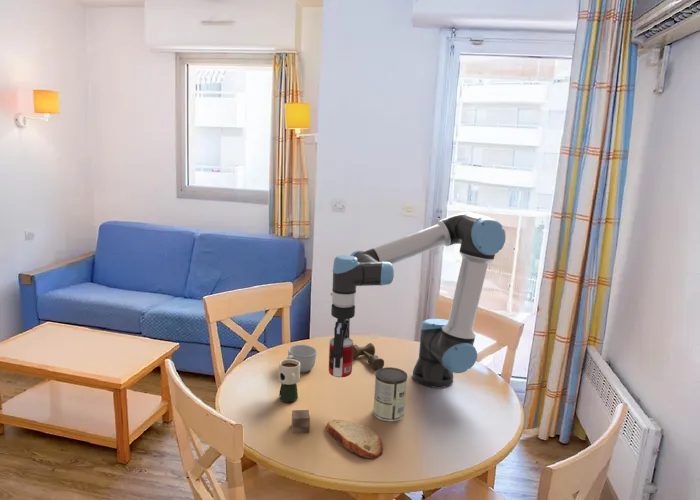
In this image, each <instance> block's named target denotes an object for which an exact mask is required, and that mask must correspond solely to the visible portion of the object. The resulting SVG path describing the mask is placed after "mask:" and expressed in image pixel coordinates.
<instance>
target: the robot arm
mask: <svg viewBox="0 0 700 500" xmlns="http://www.w3.org/2000/svg"><path fill="white" fill-rule="evenodd" d="M505 243H506V231H505V228H504V226H503V225H502V223H501V222H500V221H498V220H496V219H494V218H493V217H491V216H486V215H483V214H479V213H476V212H473V211H464V212H460V213H457V214H454V215H451V216H448V217H446V218H442V219H440V220H437V221H436V224H435V225H433V226H429V227H427V228H424V229H420V230H419V231H416V232H413V233H411V234H408V235H406V236H402V237H400V238H398V239H395V240H391V241H389V242H387V243H383V244H381V245H379V246H376V247H373V248H370V249H368V250H359V249H357V250H355V251H353V252H351V253H350V255H347V254H342V255H337V256H335V258H334V260H333V266H332V292H330V296H331V303H332V304H331V310H330V311H331V313H330V314H331V316H332V317H333V318H335V319H337V320H336V321H335V325H334V328H333V330H334V331H333V332H334V335H333V336H334V337H333V338H334V347H333V355H332V356H331V357H333V358H334V368H333V377H335V376H338V377H337V378H343V377H342V364H343V357H342V352H343V344H344V338H350V328H351V327H350V324H351V323H350V321H351V319H353V318H354V317H355V314H356V302H357V299H356V298H357V297H356V296H357V287H363V286H365V287H367V286H372V287H373V286H381V287H382V286H386V285H390V284H392V283H393V280H394V276H395V275H394V274H395V271H394V270H395V269H394V267H393V265H394V264H396V263H400V262H402V261H405V260H407V259H410V258H412V257H415V256H417V255H420V254H423V253H425V252H428V251H431V250H434V249H436V248H439V247H441V246H445V247H449V246H453V245H460V247H459V254H460V255H461V257H462V258H461V259H462V260H461V265H460V268H459V271H458V276H457V280H456V285H455V290H454V294H453V298H452V303H451V307H450V312H449V316H448V319H443V318H428V319H425V320H423V321H422V323H421V326H420V327H421V328H420V340H419V349H418V350H419V351H418V352H419V353H418V359H417V360H416V362H415V365H414V367H413V370H412V375H411V376H412V380H413V381H414V382H416V383H417V384H419V385H422V386H424V387H429V388H437V389H438V388H439V389H440V388H446V387H449V386H451V385H452V384H453V382H454V374H463V373H465V372H468V370H469V369H470V370H471V369H472V367H473V366H474V365H475V363H476V362H477V360H478V352H477V350H476V347H475V346H474V343H475V339H476V334H475V332H474V331H473V329H474V324H475V321H476V315H477V312H478V308H479V303H480V298H481V294H482V291H483V286H484V284H485V283H484V282H485V278H486V273H487V269H488V265H489V263H491V262H492V261H494V259H495V256H496V254H498V253H499V252H500V251H501V250H502V249H503V248H504V245H505Z"/></svg>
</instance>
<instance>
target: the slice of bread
mask: <svg viewBox="0 0 700 500" xmlns="http://www.w3.org/2000/svg"><path fill="white" fill-rule="evenodd" d="M324 429H325V430H326V432H327V434H328V435H330V436H331V438H332V439H334V440H335V441H336V442H338V444H339V445H341V446H342V447H343V448H345V449H346V450H348V451H350V452H352V453H353V454H356V455H358V456H359V457H361V458H364V459H368V460H371V459H372V460H377V459H378V458H380V457H381V456H383V454H384V453H383V452H384V445H383V442H382V439H381V437H380V436H379V434H378V433H377V432H376V431H375V430H373V429H371V428H370V427H368V426H365V425H361V424H358V423H356V422H353V421H349V420H348V421H347V420H343V419H342V420H341V419H334V420H328V422H327V424H326V426H324Z"/></svg>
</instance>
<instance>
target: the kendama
mask: <svg viewBox="0 0 700 500" xmlns="http://www.w3.org/2000/svg"><path fill="white" fill-rule="evenodd" d="M360 356H364V357H365V358H366V359H367V364H368V365H370V366H371V367H372V369H373V370H374V371H377V370H378V369H381V368H384V366H385V360H384V359H383V358H380V357H379V355H376V348H375V345H374V344H373V343H372V342H370V343H367V344H366V345H365V346H359V345H357V344H353V361H354V360H357V359H358V358H359V357H360Z"/></svg>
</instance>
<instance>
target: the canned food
mask: <svg viewBox="0 0 700 500" xmlns="http://www.w3.org/2000/svg"><path fill="white" fill-rule="evenodd" d="M353 345H354V340H353V339H352V338H350V337H349V338H344V344H343V352H342V357H343V364H342V377H341V378H346V377H348V376H350V375H351V374H352V371H353V361H354V360H353ZM333 347H334V337H332V338H330V339H329V348H328V349H329V350H328V352H329V353H328V373H329V374H330V375H331V376H333V368H334V358H333V357H331V356H332V355H333ZM333 377H336V378H339V377H338V376H333Z"/></svg>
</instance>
